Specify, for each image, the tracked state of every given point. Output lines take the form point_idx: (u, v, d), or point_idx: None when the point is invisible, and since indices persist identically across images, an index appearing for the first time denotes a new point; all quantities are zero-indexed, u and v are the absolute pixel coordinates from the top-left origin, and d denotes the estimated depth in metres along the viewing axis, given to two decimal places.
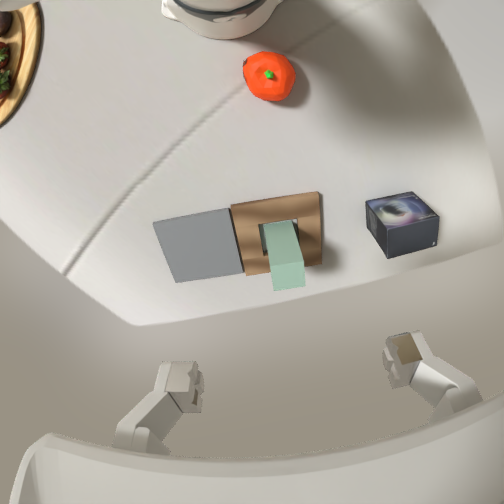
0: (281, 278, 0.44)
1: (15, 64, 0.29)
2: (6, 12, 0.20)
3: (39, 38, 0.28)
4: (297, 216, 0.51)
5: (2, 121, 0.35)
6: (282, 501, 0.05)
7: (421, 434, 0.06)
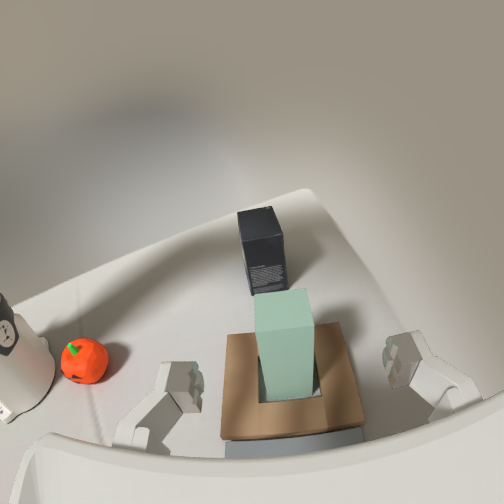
0: (284, 317, 0.25)
1: None
2: None
3: None
4: (254, 355, 0.35)
5: None
6: (282, 501, 0.05)
7: (421, 434, 0.06)
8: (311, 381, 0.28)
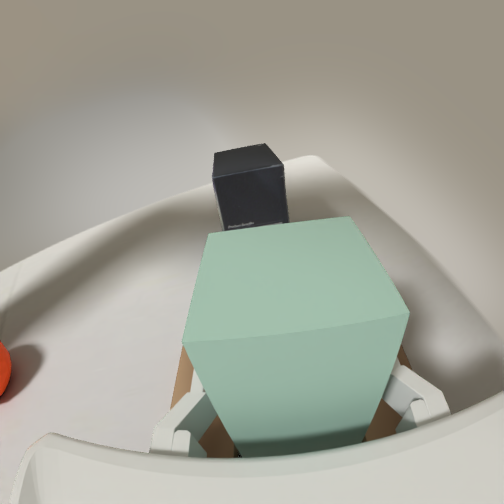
0: (296, 289, 0.07)
1: None
2: None
3: None
4: None
5: None
6: (282, 501, 0.05)
7: (421, 434, 0.06)
8: None
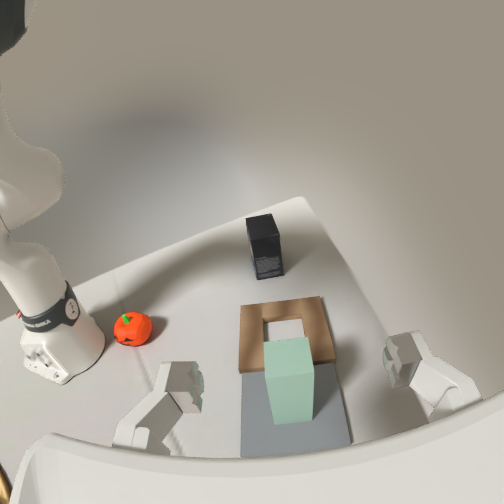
0: (289, 364, 0.29)
1: None
2: None
3: None
4: (260, 318, 0.52)
5: None
6: (282, 501, 0.05)
7: (421, 434, 0.06)
8: (311, 410, 0.32)
